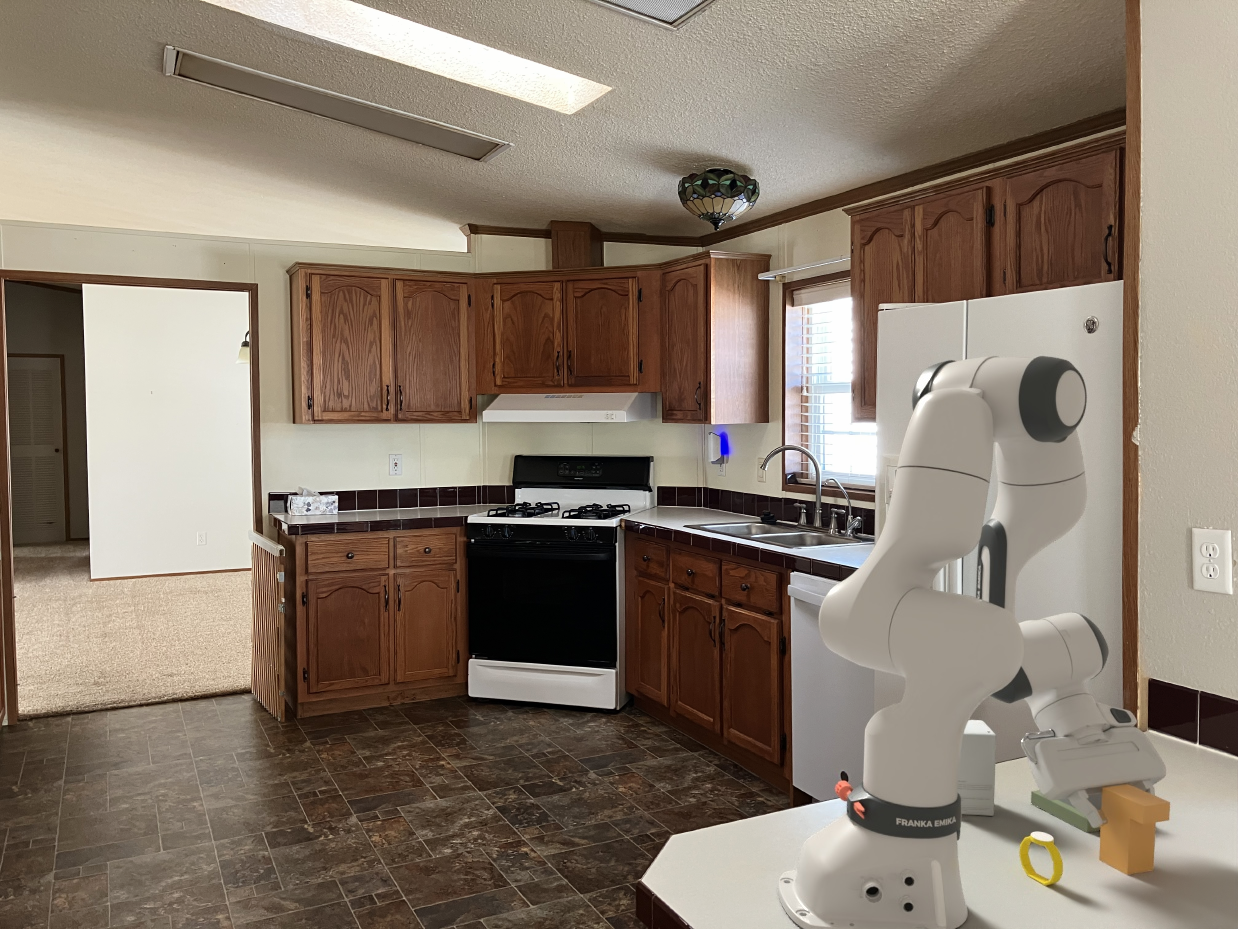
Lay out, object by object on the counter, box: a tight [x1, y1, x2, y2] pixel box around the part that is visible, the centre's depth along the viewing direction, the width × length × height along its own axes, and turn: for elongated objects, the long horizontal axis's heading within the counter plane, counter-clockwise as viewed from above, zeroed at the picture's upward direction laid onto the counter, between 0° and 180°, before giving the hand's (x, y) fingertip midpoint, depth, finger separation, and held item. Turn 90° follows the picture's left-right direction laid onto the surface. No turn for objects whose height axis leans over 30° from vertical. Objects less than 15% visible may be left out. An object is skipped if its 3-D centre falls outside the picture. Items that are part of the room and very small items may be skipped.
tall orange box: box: [1098, 784, 1171, 876], centre depth 129 cm, size 7×5×10 cm
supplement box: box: [958, 719, 997, 817], centre depth 149 cm, size 7×7×13 cm
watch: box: [1018, 831, 1064, 887], centre depth 125 cm, size 6×3×6 cm, turn 23°
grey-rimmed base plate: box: [1030, 789, 1102, 833], centre depth 147 cm, size 11×11×5 cm
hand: (1128, 821), depth 130 cm, fingers open, 8 cm apart
